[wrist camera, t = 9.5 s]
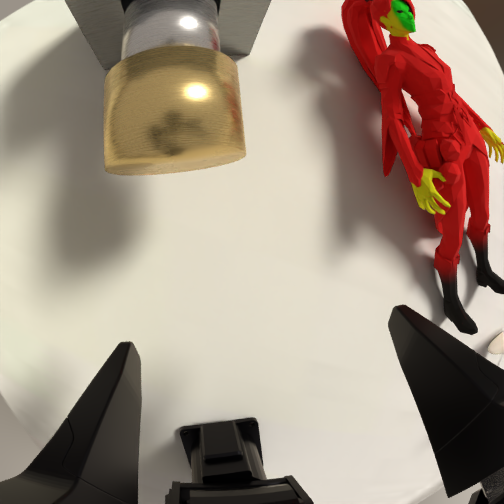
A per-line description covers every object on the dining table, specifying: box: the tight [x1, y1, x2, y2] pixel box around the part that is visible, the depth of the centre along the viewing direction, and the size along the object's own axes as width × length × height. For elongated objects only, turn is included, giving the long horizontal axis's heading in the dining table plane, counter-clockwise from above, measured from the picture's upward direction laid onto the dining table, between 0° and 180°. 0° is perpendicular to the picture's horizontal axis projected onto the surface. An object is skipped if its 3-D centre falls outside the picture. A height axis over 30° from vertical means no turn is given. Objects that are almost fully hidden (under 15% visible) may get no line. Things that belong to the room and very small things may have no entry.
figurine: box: [341, 0, 504, 335], centre depth 21 cm, size 12×9×30 cm
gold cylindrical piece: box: [104, 0, 246, 175], centre depth 12 cm, size 8×6×6 cm
